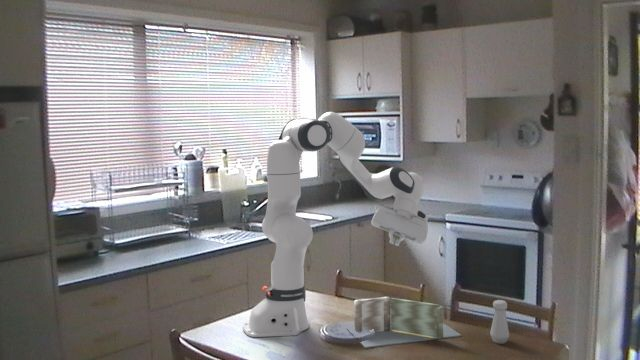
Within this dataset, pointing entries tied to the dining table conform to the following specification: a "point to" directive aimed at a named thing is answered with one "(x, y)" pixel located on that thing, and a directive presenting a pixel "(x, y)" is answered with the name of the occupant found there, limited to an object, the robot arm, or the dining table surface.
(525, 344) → the dining table surface
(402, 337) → the board
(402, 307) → the green fence panel
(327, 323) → the dining table surface
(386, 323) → the beige patterned panel
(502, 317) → the salt shaker
